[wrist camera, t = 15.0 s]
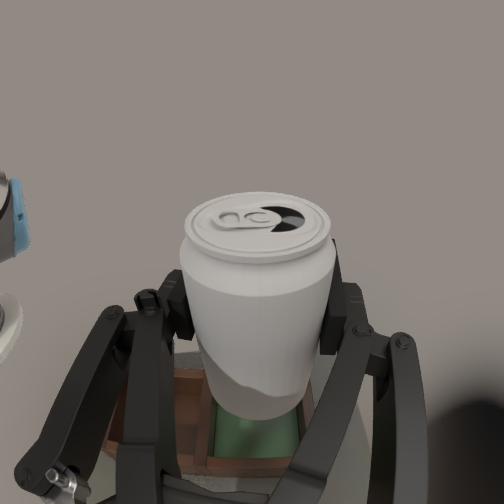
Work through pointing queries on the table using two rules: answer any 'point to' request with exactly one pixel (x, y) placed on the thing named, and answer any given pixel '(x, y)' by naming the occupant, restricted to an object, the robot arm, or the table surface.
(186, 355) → the table surface
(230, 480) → the table surface
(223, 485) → the table surface
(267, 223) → the beverage can
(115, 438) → the wooden compartment tray
